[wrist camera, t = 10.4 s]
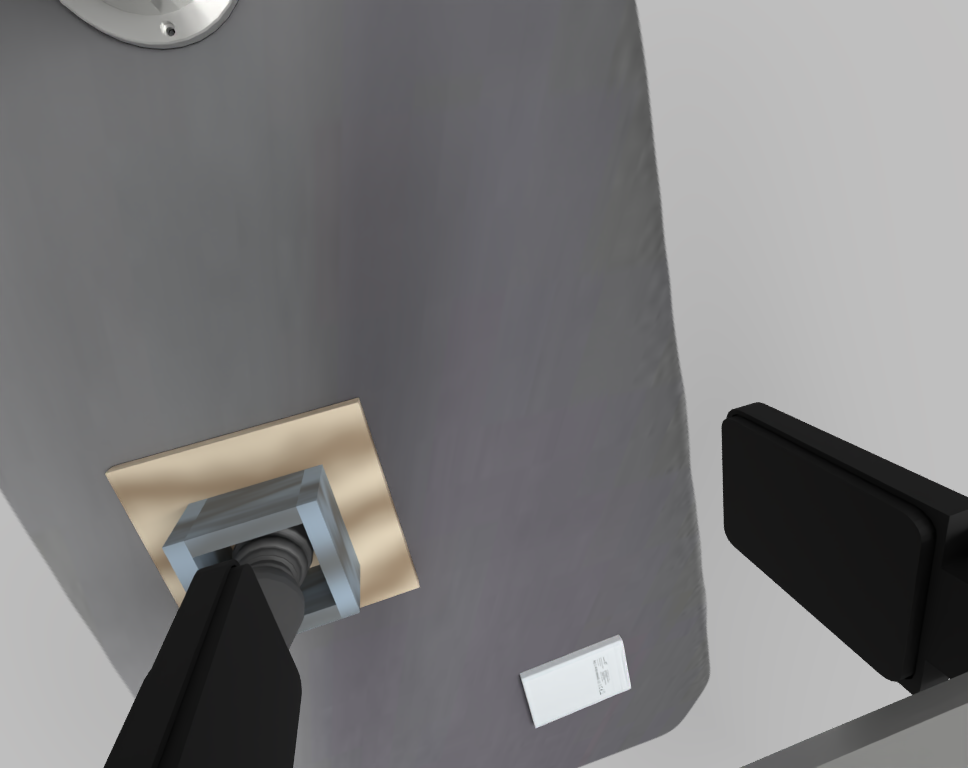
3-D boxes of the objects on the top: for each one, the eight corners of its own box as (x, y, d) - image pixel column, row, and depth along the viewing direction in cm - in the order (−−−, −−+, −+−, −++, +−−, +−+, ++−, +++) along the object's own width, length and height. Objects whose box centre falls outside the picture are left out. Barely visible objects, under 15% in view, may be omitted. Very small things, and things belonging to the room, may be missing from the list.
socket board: (112, 466, 40) (62, 515, 33) (358, 397, 43) (358, 429, 36) (211, 649, 47) (186, 720, 40) (418, 579, 50) (427, 634, 43)
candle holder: (268, 576, 45) (168, 956, 22) (224, 527, 43) (61, 892, 19) (330, 541, 45) (297, 878, 22) (290, 490, 43) (206, 806, 20)
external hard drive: (517, 668, 57) (616, 630, 59) (531, 717, 60) (625, 679, 62) (521, 681, 56) (623, 641, 58) (535, 730, 59) (632, 691, 60)
